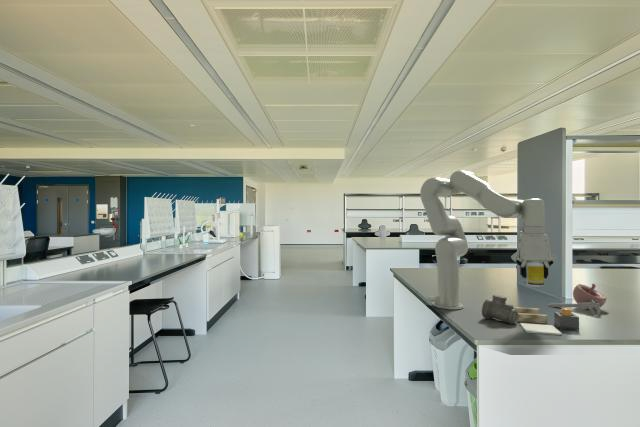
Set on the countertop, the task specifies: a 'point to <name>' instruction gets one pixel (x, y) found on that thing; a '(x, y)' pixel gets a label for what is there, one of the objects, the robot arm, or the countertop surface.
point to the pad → (540, 329)
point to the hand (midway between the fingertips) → (534, 277)
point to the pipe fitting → (499, 310)
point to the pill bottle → (534, 273)
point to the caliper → (581, 305)
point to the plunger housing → (566, 321)
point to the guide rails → (530, 315)
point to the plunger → (566, 312)
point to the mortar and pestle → (588, 295)
